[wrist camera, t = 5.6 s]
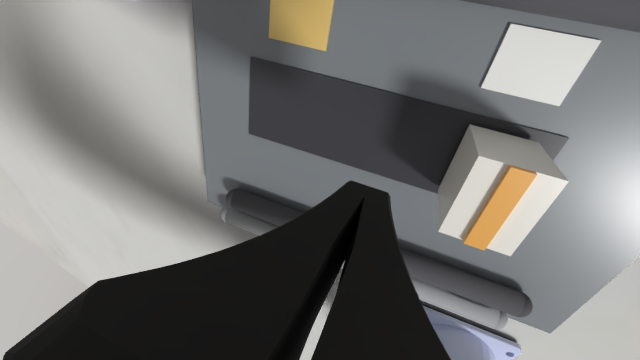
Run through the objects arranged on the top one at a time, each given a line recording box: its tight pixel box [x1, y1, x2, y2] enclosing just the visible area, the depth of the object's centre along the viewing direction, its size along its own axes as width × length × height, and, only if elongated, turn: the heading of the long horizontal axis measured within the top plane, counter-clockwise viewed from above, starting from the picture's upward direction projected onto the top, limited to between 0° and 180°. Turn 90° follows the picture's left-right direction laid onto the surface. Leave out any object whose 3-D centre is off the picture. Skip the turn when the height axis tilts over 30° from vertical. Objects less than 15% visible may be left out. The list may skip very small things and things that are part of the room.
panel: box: [192, 0, 640, 333], centre depth 15 cm, size 18×24×2 cm
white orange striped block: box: [438, 124, 569, 256], centre depth 12 cm, size 4×3×4 cm
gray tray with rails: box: [220, 0, 640, 329], centre depth 14 cm, size 17×20×1 cm
